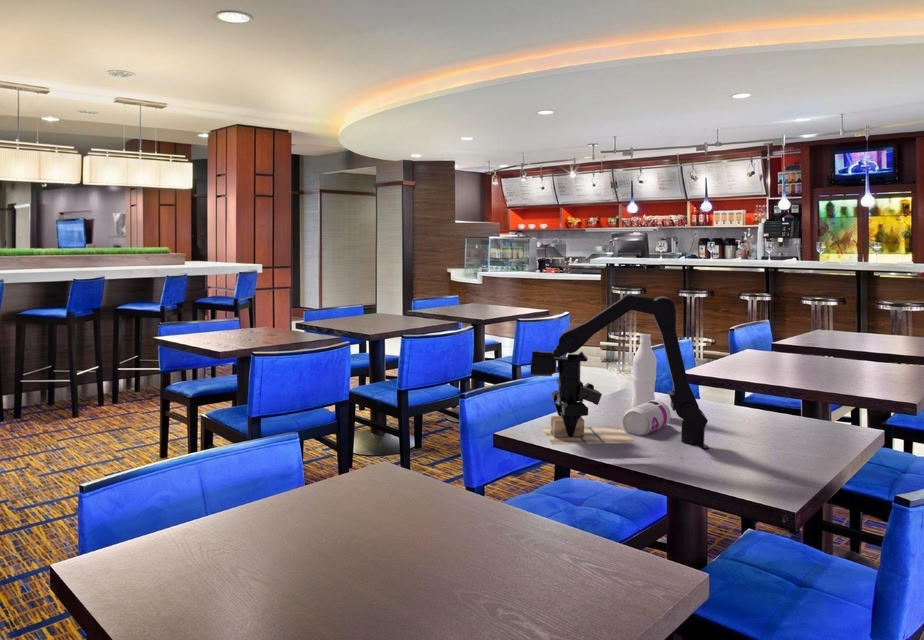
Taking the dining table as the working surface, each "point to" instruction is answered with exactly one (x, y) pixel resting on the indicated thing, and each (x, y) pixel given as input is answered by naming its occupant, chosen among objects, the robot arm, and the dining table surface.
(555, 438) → the board
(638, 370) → the water bottle
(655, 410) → the supplement can
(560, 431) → the block
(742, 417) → the dining table surface
